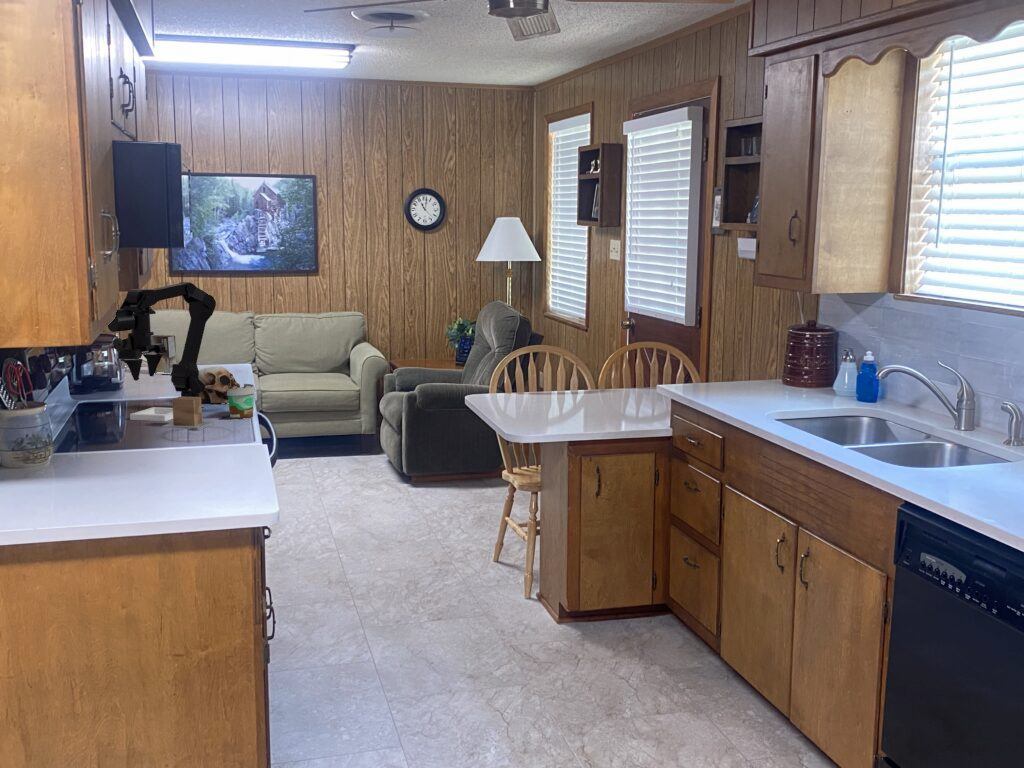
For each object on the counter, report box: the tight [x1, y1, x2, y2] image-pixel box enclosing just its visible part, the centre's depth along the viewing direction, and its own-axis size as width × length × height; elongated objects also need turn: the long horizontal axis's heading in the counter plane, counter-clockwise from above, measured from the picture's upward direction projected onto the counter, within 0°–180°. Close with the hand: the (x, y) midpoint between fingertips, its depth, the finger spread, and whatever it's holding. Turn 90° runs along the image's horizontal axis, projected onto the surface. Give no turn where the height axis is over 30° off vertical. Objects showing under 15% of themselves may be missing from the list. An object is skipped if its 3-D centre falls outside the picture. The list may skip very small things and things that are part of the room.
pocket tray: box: [129, 406, 173, 422], centre depth 314 cm, size 13×12×2 cm
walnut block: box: [171, 395, 203, 426], centre depth 300 cm, size 4×7×8 cm, turn 78°
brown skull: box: [198, 366, 241, 404], centre depth 346 cm, size 16×17×13 cm
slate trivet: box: [161, 420, 215, 431], centre depth 301 cm, size 10×12×1 cm
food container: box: [227, 383, 257, 420], centre depth 316 cm, size 12×6×10 cm, turn 168°
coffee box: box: [151, 334, 178, 373], centre depth 413 cm, size 9×6×16 cm
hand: (143, 378), depth 312 cm, fingers open, 9 cm apart
